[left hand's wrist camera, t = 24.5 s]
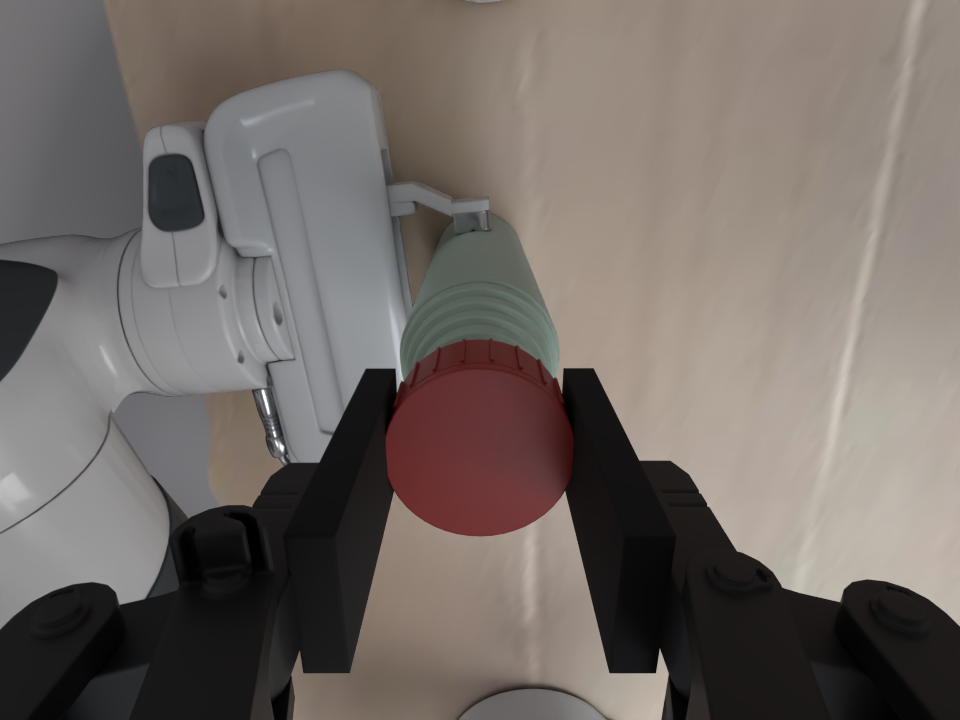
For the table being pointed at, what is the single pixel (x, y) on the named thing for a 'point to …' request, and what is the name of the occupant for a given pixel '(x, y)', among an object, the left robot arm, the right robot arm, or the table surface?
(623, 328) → the table surface
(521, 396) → the cap
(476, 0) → the mug
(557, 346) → the bottle
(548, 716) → the right robot arm
